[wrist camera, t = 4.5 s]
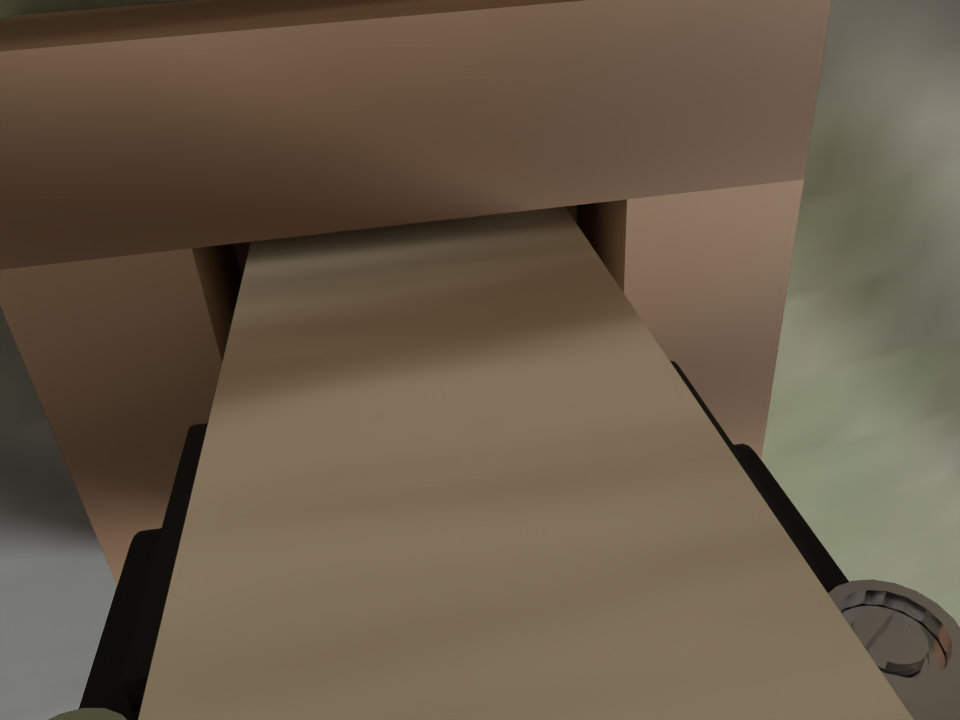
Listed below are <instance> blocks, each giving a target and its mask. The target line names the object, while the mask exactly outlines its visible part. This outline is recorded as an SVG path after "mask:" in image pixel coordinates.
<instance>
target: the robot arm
mask: <svg viewBox="0 0 960 720" xmlns="http://www.w3.org/2000/svg"><path fill="white" fill-rule="evenodd" d="M670 362H671V364H672V365H673V367H674V368H675V369H676V371H677V372H678V374H679V375H680V377H681V378H682V380H683V381H684V383H685V384H686V386H687V387H688V389H689V390H690V392H691V393H692V394H693V396H694V397H695V399H696V400H697V402H698V403H699V405H700V406H701V408H702V409H703V411H704V412H705V414H706V415H707V417H708V418H709V419H710V421H711V422H712V424H713V425H714V427H715V428H716V430H717V431H718V433H719V434H720V436H721V437H722V439H723V440H724V442H725V443H726V444H727V446H728V447H729V449H730V450H731V452H732V453H733V455H734V456H735V458H736V459H737V461H738V462H739V464H740V465H741V467H742V468H743V469H744V471H745V472H746V474H747V475H748V477H749V478H750V480H751V481H752V483H753V484H754V486H755V487H756V489H757V490H758V492H759V493H760V494H761V496H762V497H763V499H764V500H765V502H766V503H767V505H768V506H769V508H770V509H771V511H772V512H773V514H774V515H775V517H776V518H777V519H778V521H779V522H780V524H781V525H782V527H783V528H784V530H785V531H786V533H787V534H788V536H789V537H790V539H791V540H792V542H793V543H794V544H795V546H796V547H797V549H798V550H799V552H800V553H801V555H802V556H803V558H804V559H805V561H806V562H807V564H808V565H809V567H810V568H811V569H812V571H813V572H814V574H815V575H816V577H817V578H818V580H819V581H820V583H821V584H822V586H823V587H824V589H825V590H826V592H827V593H828V594H829V596H830V597H831V599H832V600H833V602H834V603H835V605H836V606H837V608H838V609H839V611H840V612H841V614H842V615H843V617H844V618H845V619H846V621H847V622H848V624H849V625H850V627H851V628H852V630H853V631H854V633H855V634H856V636H857V637H858V639H859V640H860V642H861V643H862V644H863V646H864V647H865V649H866V650H867V652H868V653H869V655H870V656H871V658H872V659H873V661H874V662H875V664H876V665H877V667H878V668H879V669H880V671H881V672H882V674H883V675H884V677H885V678H886V680H887V681H888V683H889V684H890V686H891V687H892V689H893V690H894V692H895V693H896V694H897V696H898V697H899V699H900V700H901V702H902V703H903V705H904V706H905V708H906V709H907V711H908V712H909V714H910V715H911V717H912V718H913V719H914V720H960V627H959V626H958V624H957V623H956V621H955V620H954V619H953V618H952V617H951V616H950V615H949V614H948V613H947V612H946V611H945V610H944V609H942V608H941V607H940V606H939V605H938V604H937V603H935V602H934V601H932V600H930V599H929V598H927V597H925V596H924V595H922V594H920V593H919V592H917V591H914V590H912V589H909V588H906V587H903V586H901V585H898V584H895V583H890V582H884V581H878V580H858V581H851V582H849V581H848V580H847V578H846V577H845V576H844V574H843V573H842V571H841V570H840V569H839V567H838V566H837V564H836V563H835V562H834V560H833V559H832V558H831V556H830V555H829V553H828V552H827V551H826V549H825V548H824V546H823V545H822V544H821V542H820V541H819V540H818V538H817V537H816V535H815V534H814V533H813V531H812V530H811V528H810V527H809V526H808V524H807V523H806V522H805V520H804V519H803V517H802V516H801V515H800V513H799V512H798V510H797V509H796V508H795V506H794V505H793V504H792V502H791V501H790V499H789V498H788V497H787V495H786V494H785V492H784V491H783V490H782V488H781V487H780V486H779V484H778V483H777V481H776V480H775V479H774V477H773V476H772V474H771V473H770V472H769V470H768V469H767V468H766V466H765V465H764V463H763V462H762V461H761V459H760V458H759V456H758V455H757V454H756V452H755V451H754V450H753V449H752V448H751V447H750V446H748V445H746V444H743V443H742V444H735V445H733V443H732V442H731V440H730V439H729V438H728V436H727V435H726V433H725V432H724V430H723V429H722V427H721V426H720V425H719V423H718V422H717V420H716V419H715V417H714V416H713V414H712V413H711V412H710V410H709V409H708V407H707V406H706V404H705V403H704V401H703V400H702V399H701V397H700V396H699V394H698V393H697V391H696V390H695V388H694V387H693V386H692V384H691V383H690V381H689V380H688V378H687V377H686V375H685V374H684V373H683V371H682V370H681V368H680V367H679V365H678V364H677V363H676V362H674V361H670ZM207 426H208V423H204V424H196V425H192V426H190V427H189V430H188V432H187V436H186V440H185V443H184V447H183V451H182V454H181V458H180V462H179V465H178V469H177V473H176V477H175V480H174V484H173V488H172V491H171V495H170V499H169V502H168V506H167V510H166V513H165V517H164V521H163V525H162V528H158V529H151V530H144V531H139V532H138V533H137V534H136V535H134V537H133V539H132V542H131V544H130V546H129V550H128V553H127V556H126V559H125V563H124V566H123V569H122V572H121V575H120V579H119V582H118V585H117V588H116V591H115V595H114V598H113V601H112V604H111V607H110V611H109V614H108V617H107V620H106V624H105V627H104V630H103V633H102V636H101V640H100V643H99V646H98V649H97V652H96V656H95V659H94V662H93V665H92V668H91V672H90V675H89V678H88V681H87V685H86V688H85V691H84V694H83V697H82V701H81V704H80V707H79V709H77V710H74V711H70V712H66V713H62V714H59V715H57V716H55V717H53V718H51V719H49V720H138V718H139V714H140V710H141V705H142V701H143V697H144V693H145V688H146V684H147V680H148V676H149V671H150V667H151V663H152V659H153V654H154V650H155V646H156V642H157V638H158V633H159V629H160V625H161V621H162V616H163V612H164V608H165V604H166V599H167V595H168V591H169V587H170V582H171V578H172V574H173V570H174V566H175V561H176V557H177V553H178V549H179V544H180V540H181V536H182V532H183V527H184V523H185V519H186V515H187V510H188V506H189V502H190V498H191V494H192V489H193V485H194V481H195V477H196V472H197V468H198V464H199V460H200V455H201V451H202V447H203V443H204V438H205V434H206V430H207Z"/></svg>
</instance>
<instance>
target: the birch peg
mask: <svg viewBox="0 0 960 720" xmlns="http://www.w3.org/2000/svg"><path fill="white" fill-rule="evenodd" d="M138 720H914V719H913V718H912V717H911V715H910V714H909V712H908V711H907V709H906V708H905V706H904V705H903V703H902V702H901V700H900V699H899V697H898V696H897V694H896V693H895V692H894V690H893V689H892V687H891V686H890V684H889V683H888V681H887V680H886V678H885V677H884V675H883V674H882V672H881V671H880V669H879V668H878V667H877V665H876V664H875V662H874V661H873V659H872V658H871V656H870V655H869V653H868V652H867V650H866V649H865V647H864V646H863V644H862V643H861V642H860V640H859V639H858V637H857V636H856V634H855V633H854V631H853V630H852V628H851V627H850V625H849V624H848V622H847V621H846V619H845V618H844V617H843V615H842V614H841V612H840V611H839V609H838V608H837V606H836V605H835V603H834V602H833V600H832V599H831V597H830V596H829V594H828V593H827V592H826V590H825V589H824V587H823V586H822V584H821V583H820V581H819V580H818V578H817V577H816V575H815V574H814V572H813V571H812V569H811V568H810V567H809V565H808V564H807V562H806V561H805V559H804V558H803V556H802V555H801V553H800V552H799V550H798V549H797V547H796V546H795V544H794V543H793V542H792V540H791V539H790V537H789V536H788V534H787V533H786V531H785V530H784V528H783V527H782V525H781V524H780V522H779V521H778V519H777V518H776V517H775V515H774V514H773V512H772V511H771V509H770V508H769V506H768V505H767V503H766V502H765V500H764V499H763V497H762V496H761V494H760V493H759V492H758V490H757V489H756V487H755V486H754V484H753V483H752V481H751V480H750V478H749V477H748V475H747V474H746V472H745V471H744V469H743V468H742V467H741V465H740V464H739V462H738V461H737V459H736V458H735V456H734V455H733V453H732V452H731V450H730V449H729V447H728V446H727V444H726V443H725V442H724V440H723V439H722V437H721V436H720V434H719V433H718V431H717V430H716V428H715V427H714V425H713V424H712V422H711V421H710V419H709V418H708V417H707V415H706V414H705V412H704V411H703V409H702V408H701V406H700V405H699V403H698V402H697V400H696V399H695V397H694V396H693V394H692V393H691V392H690V390H689V389H688V387H687V386H686V384H685V383H684V381H683V380H682V378H681V377H680V375H679V374H678V372H677V371H676V369H675V368H674V367H673V365H672V364H671V362H670V361H669V359H668V358H667V356H666V355H665V353H664V352H663V350H662V349H661V347H660V346H659V344H658V343H657V341H656V340H655V339H654V337H653V336H652V334H651V333H650V331H649V330H648V328H647V327H646V325H645V324H644V322H643V321H642V319H641V318H640V316H639V315H638V314H637V312H636V311H635V309H634V308H633V306H632V305H631V303H630V302H629V300H628V299H627V297H626V296H625V294H624V293H623V291H622V290H621V289H620V287H619V286H618V284H617V283H616V281H615V280H614V278H613V277H612V275H611V274H610V272H609V271H608V269H607V268H606V266H605V265H604V264H603V262H602V261H601V259H600V258H599V256H598V255H597V253H596V252H595V250H594V249H593V247H592V246H591V244H590V243H589V241H588V240H587V239H586V237H585V236H584V234H583V233H582V231H581V230H580V228H579V227H578V225H577V224H576V222H575V221H574V219H573V218H572V216H571V215H570V214H569V212H568V211H567V209H566V208H565V206H564V207H555V208H546V209H537V210H528V211H519V212H510V213H502V214H493V215H484V216H475V217H466V218H457V219H448V220H439V221H430V222H421V223H413V224H404V225H395V226H386V227H377V228H368V229H359V230H350V231H341V232H332V233H324V234H315V235H306V236H297V237H288V238H279V239H270V240H261V241H252V242H251V244H250V248H249V252H248V256H247V261H246V265H245V269H244V273H243V277H242V282H241V286H240V290H239V294H238V299H237V303H236V307H235V311H234V316H233V320H232V324H231V328H230V333H229V337H228V341H227V345H226V349H225V354H224V358H223V362H222V366H221V371H220V375H219V379H218V383H217V388H216V392H215V396H214V400H213V405H212V409H211V413H210V417H209V422H208V426H207V430H206V434H205V438H204V443H203V447H202V451H201V455H200V460H199V464H198V468H197V472H196V477H195V481H194V485H193V489H192V494H191V498H190V502H189V506H188V510H187V515H186V519H185V523H184V527H183V532H182V536H181V540H180V544H179V549H178V553H177V557H176V561H175V566H174V570H173V574H172V578H171V582H170V587H169V591H168V595H167V599H166V604H165V608H164V612H163V616H162V621H161V625H160V629H159V633H158V638H157V642H156V646H155V650H154V654H153V659H152V663H151V667H150V671H149V676H148V680H147V684H146V688H145V693H144V697H143V701H142V705H141V710H140V714H139V718H138Z"/></svg>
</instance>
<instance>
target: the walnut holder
mask: <svg viewBox="0 0 960 720" xmlns="http://www.w3.org/2000/svg"><path fill="white" fill-rule="evenodd" d="M830 7H831V0H191V1H179V2H167V3H155V4H143V5H131V6H119V7H107V8H95V9H83V10H71V11H59V12H47V13H35V14H23V15H13V16H10V17H8V18H5V19H3V20H0V307H1V309H2V311H3V314H4V316H5V319H6V321H7V323H8V326H9V328H10V331H11V333H12V335H13V338H14V340H15V342H16V345H17V347H18V350H19V352H20V354H21V357H22V359H23V362H24V364H25V366H26V369H27V371H28V374H29V376H30V378H31V381H32V383H33V386H34V388H35V390H36V393H37V395H38V398H39V400H40V402H41V405H42V407H43V409H44V412H45V414H46V417H47V419H48V421H49V424H50V426H51V429H52V431H53V433H54V436H55V438H56V441H57V443H58V445H59V448H60V450H61V453H62V455H63V457H64V460H65V462H66V465H67V467H68V469H69V472H70V474H71V477H72V479H73V481H74V484H75V486H76V488H77V491H78V493H79V496H80V498H81V500H82V503H83V505H84V508H85V510H86V512H87V515H88V517H89V520H90V522H91V524H92V527H93V529H94V532H95V534H96V536H97V539H98V541H99V544H100V546H101V548H102V551H103V553H104V555H105V558H106V560H107V563H108V565H109V567H110V570H111V572H112V575H113V577H114V579H115V582H116V584H117V585H118V582H119V579H120V575H121V572H122V569H123V566H124V563H125V559H126V556H127V553H128V550H129V546H130V544H131V542H132V539H133V537H134V535H136V534H137V533H138V532H139V531H144V530H151V529H158V528H162V525H163V521H164V517H165V513H166V510H167V506H168V502H169V499H170V495H171V491H172V488H173V484H174V480H175V477H176V473H177V469H178V465H179V462H180V458H181V454H182V451H183V447H184V443H185V440H186V436H187V432H188V430H189V427H190V426H192V425H196V424H204V423H208V422H209V417H210V413H211V409H212V405H213V400H214V396H215V392H216V388H217V383H218V379H219V375H220V371H221V366H222V362H223V358H224V354H225V349H226V345H227V341H228V337H229V333H230V328H231V324H232V320H233V316H234V311H235V307H236V303H237V299H238V294H239V290H240V286H241V282H242V277H243V273H244V269H245V265H246V261H247V256H248V252H249V248H250V244H251V242H252V241H261V240H270V239H279V238H288V237H297V236H306V235H315V234H324V233H332V232H341V231H350V230H359V229H368V228H377V227H386V226H395V225H404V224H413V223H421V222H430V221H439V220H448V219H457V218H466V217H475V216H484V215H493V214H502V213H510V212H519V211H528V210H537V209H546V208H555V207H564V206H565V208H566V209H567V211H568V212H569V214H570V215H571V216H572V218H573V219H574V221H575V222H576V224H577V225H578V227H579V228H580V230H581V231H582V233H583V234H584V236H585V237H586V239H587V240H588V241H589V243H590V244H591V246H592V247H593V249H594V250H595V252H596V253H597V255H598V256H599V258H600V259H601V261H602V262H603V264H604V265H605V266H606V268H607V269H608V271H609V272H610V274H611V275H612V277H613V278H614V280H615V281H616V283H617V284H618V286H619V287H620V289H621V290H622V291H623V293H624V294H625V296H626V297H627V299H628V300H629V302H630V303H631V305H632V306H633V308H634V309H635V311H636V312H637V314H638V315H639V316H640V318H641V319H642V321H643V322H644V324H645V325H646V327H647V328H648V330H649V331H650V333H651V334H652V336H653V337H654V339H655V340H656V341H657V343H658V344H659V346H660V347H661V349H662V350H663V352H664V353H665V355H666V356H667V358H668V359H669V361H674V362H676V363H677V364H678V365H679V367H680V368H681V370H682V371H683V373H684V374H685V375H686V377H687V378H688V380H689V381H690V383H691V384H692V386H693V387H694V388H695V390H696V391H697V393H698V394H699V396H700V397H701V399H702V400H703V401H704V403H705V404H706V406H707V407H708V409H709V410H710V412H711V413H712V414H713V416H714V417H715V419H716V420H717V422H718V423H719V425H720V426H721V427H722V429H723V430H724V432H725V433H726V435H727V436H728V438H729V439H730V440H731V442H732V443H733V445H735V444H742V443H743V444H746V445H748V446H750V447H751V448H752V449H753V450H754V451H755V452H756V454H757V455H758V456H759V458H760V459H761V456H762V450H763V443H764V437H765V430H766V424H767V417H768V411H769V404H770V398H771V391H772V385H773V378H774V371H775V365H776V358H777V352H778V345H779V339H780V332H781V326H782V319H783V313H784V306H785V300H786V293H787V287H788V280H789V274H790V267H791V261H792V254H793V248H794V241H795V235H796V228H797V222H798V215H799V209H800V202H801V196H802V189H803V183H804V176H805V170H806V163H807V157H808V150H809V143H810V137H811V130H812V124H813V117H814V111H815V104H816V98H817V91H818V85H819V78H820V72H821V65H822V59H823V52H824V46H825V39H826V33H827V26H828V20H829V13H830Z"/></svg>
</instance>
